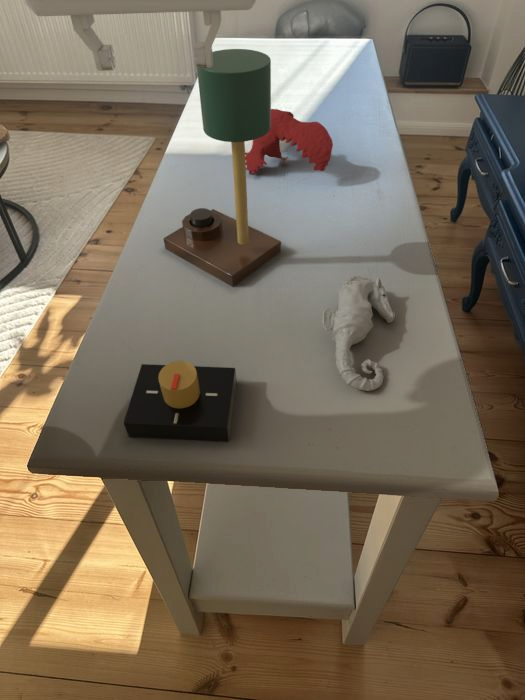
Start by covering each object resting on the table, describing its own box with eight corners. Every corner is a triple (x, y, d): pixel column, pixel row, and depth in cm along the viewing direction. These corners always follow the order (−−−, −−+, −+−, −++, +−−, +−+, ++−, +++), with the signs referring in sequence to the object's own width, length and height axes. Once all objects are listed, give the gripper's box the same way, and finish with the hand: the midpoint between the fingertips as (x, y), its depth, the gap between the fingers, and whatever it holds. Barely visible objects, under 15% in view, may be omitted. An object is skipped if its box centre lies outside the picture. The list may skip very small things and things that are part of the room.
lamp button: (187, 223, 82) (185, 214, 81) (202, 214, 84) (201, 205, 82) (201, 231, 80) (200, 222, 79) (217, 222, 82) (216, 212, 81)
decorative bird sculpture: (312, 210, 99) (351, 142, 95) (289, 194, 91) (331, 119, 87) (226, 163, 113) (257, 102, 110) (199, 146, 105) (232, 80, 102)
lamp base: (165, 248, 83) (161, 228, 80) (214, 219, 89) (212, 199, 86) (232, 287, 76) (231, 266, 73) (281, 252, 82) (281, 231, 79)
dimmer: (128, 437, 57) (122, 422, 55) (146, 378, 63) (141, 363, 61) (228, 442, 57) (227, 427, 54) (236, 382, 63) (235, 366, 60)
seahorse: (421, 388, 60) (395, 271, 71) (338, 373, 57) (324, 253, 68) (398, 406, 64) (377, 293, 75) (319, 393, 61) (310, 276, 72)
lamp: (203, 243, 77) (180, 62, 58) (241, 219, 82) (231, 44, 63) (245, 265, 73) (235, 78, 54) (282, 239, 78) (285, 58, 58)
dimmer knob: (167, 378, 59) (162, 358, 57) (202, 380, 59) (199, 359, 56) (159, 407, 56) (153, 387, 54) (196, 409, 56) (192, 389, 53)
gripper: (-35, -131, 34) (38, 82, 44) (254, -142, 34) (260, 75, 44) (-1, -135, 38) (58, 59, 48) (256, -145, 38) (261, 54, 48)
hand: (156, 67), depth 46 cm, fingers open, 8 cm apart
